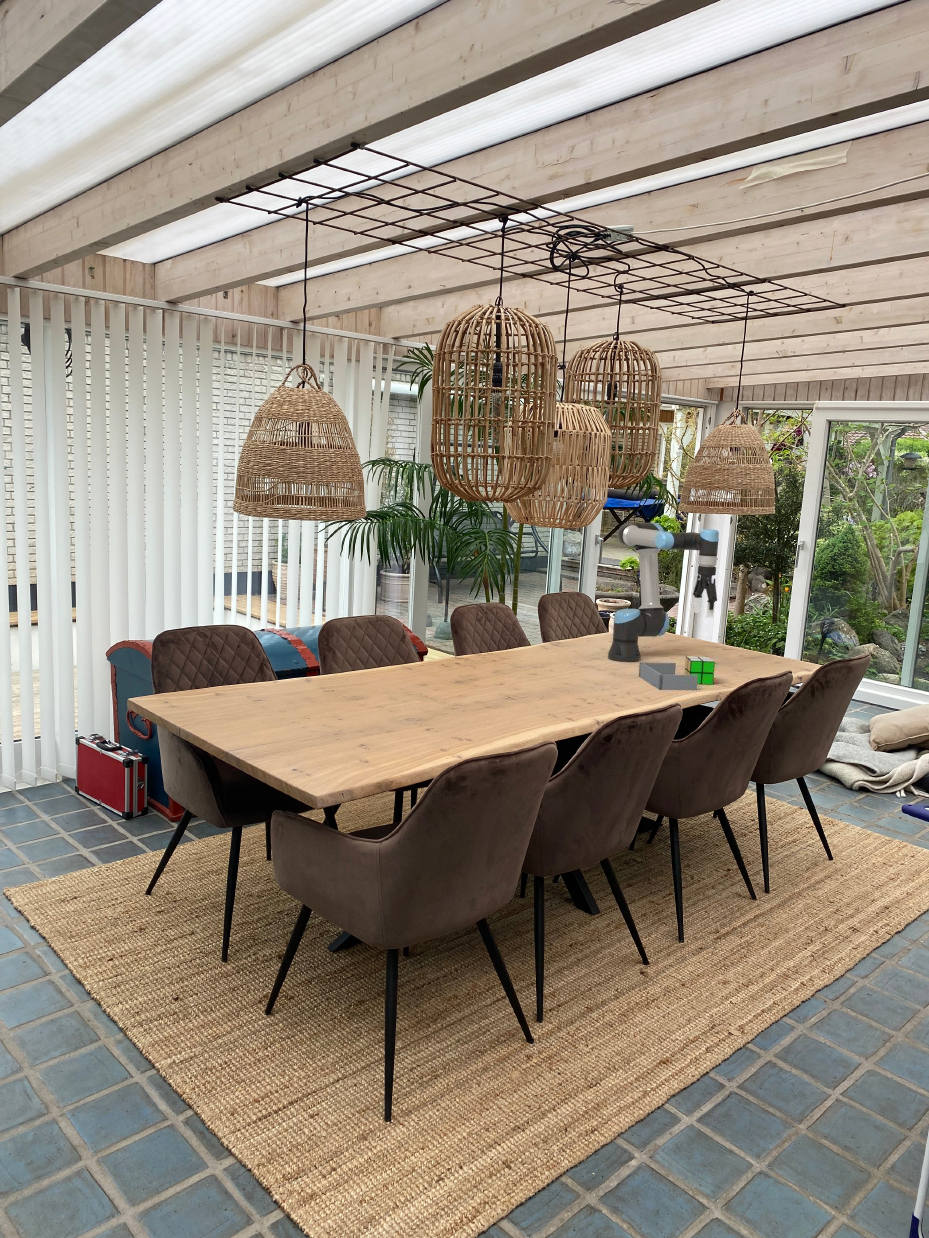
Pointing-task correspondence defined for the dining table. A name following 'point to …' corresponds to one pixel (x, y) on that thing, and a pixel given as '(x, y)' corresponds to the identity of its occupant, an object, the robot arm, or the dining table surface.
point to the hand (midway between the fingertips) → (703, 615)
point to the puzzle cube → (700, 669)
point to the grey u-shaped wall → (666, 677)
